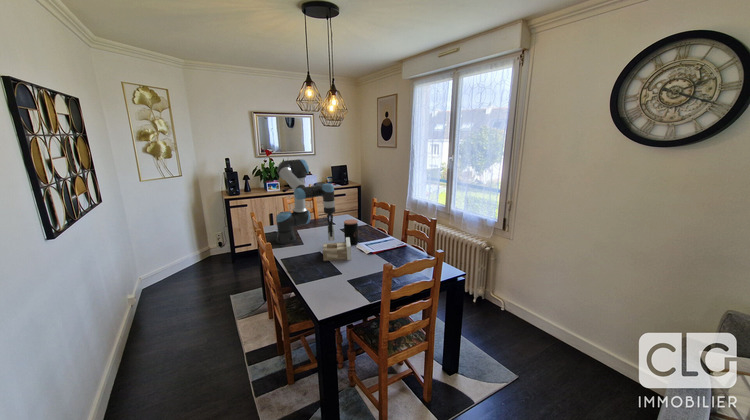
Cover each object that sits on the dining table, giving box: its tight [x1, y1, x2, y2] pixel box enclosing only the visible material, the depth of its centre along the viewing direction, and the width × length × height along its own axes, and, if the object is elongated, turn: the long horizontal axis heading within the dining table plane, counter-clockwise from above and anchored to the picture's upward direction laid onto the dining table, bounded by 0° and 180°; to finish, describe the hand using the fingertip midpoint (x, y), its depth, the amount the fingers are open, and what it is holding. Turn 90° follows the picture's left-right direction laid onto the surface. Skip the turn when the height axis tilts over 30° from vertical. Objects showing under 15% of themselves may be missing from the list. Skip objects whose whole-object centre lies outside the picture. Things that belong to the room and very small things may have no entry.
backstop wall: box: [346, 237, 352, 261], centre depth 204 cm, size 18×3×10 cm, turn 8°
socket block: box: [322, 241, 347, 262], centre depth 204 cm, size 14×16×7 cm
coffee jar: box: [343, 219, 360, 246], centre depth 225 cm, size 11×11×18 cm
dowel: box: [327, 224, 335, 242], centre depth 200 cm, size 4×4×10 cm
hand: (331, 239), depth 201 cm, fingers closed on dowel, 4 cm apart
